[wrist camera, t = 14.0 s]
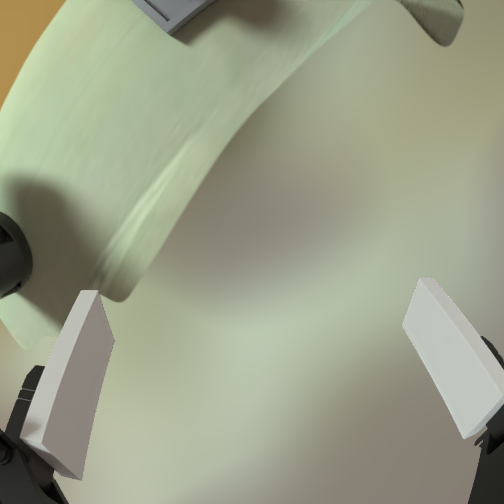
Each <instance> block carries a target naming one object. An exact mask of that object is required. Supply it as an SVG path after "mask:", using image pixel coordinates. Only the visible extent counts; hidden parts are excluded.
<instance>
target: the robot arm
mask: <svg viewBox="0 0 504 504" xmlns="http://www.w3.org/2000/svg"><path fill="white" fill-rule="evenodd" d="M31 272H32V257H31V252H30V249H29V246H28V243H27V241H26V239H25V237H24V235H23V233H22V232H21V230H20V229H19V228H18V226H17V225H16V224H15V223H14V222H13V221H12V220H11V219H10V218H9V217H8V216H6V215H5V214H3V213H1V212H0V299H2V298H4V297H7V296H9V295H11V294H13V293H15V292H17V291H18V290H20V289H21V288H22V287H23V286H24V284H25V283H26V282H27V281H28V280H29V278H30V275H31ZM402 327H403V329H404V330H405V332H406V334H407V335H408V337H409V339H410V340H411V342H412V344H413V345H414V347H415V349H416V351H417V352H418V354H419V356H420V358H421V359H422V361H423V363H424V365H425V366H426V368H427V370H428V372H429V374H430V375H431V377H432V379H433V381H434V382H435V384H436V386H437V388H438V390H439V392H440V394H441V396H442V398H443V399H444V401H445V403H446V405H447V407H448V409H449V411H450V413H451V415H452V417H453V419H454V421H455V423H456V425H457V427H458V429H459V431H460V433H461V435H462V437H463V439H466V438H468V437H470V436H472V435H474V434H476V433H478V432H479V431H480V429H482V428H483V427H484V425H485V424H486V426H487V428H488V429H487V430H486V431H485V432H484V433H483V434H482V435H481V436H480V437H479V438H478V439H477V440H476V442H475V444H474V445H475V446H476V445H477V444H479V443H480V442H481V441H482V440H483V442H482V443H481V444H480V446H479V447H481V448H482V449H481V454H480V458H479V463H478V468H477V472H476V476H475V480H474V483H473V487H472V491H471V494H470V498H469V501H468V504H504V362H503V358H502V357H501V356H500V355H499V354H498V351H497V350H496V349H495V348H494V346H493V345H492V343H490V342H489V341H488V340H487V339H486V338H484V337H483V336H481V337H480V336H479V335H478V333H477V332H476V331H475V329H474V328H473V327H472V325H471V324H470V323H469V322H468V320H467V319H466V317H464V315H463V314H462V312H461V311H460V310H459V309H458V307H457V306H456V305H455V304H454V302H453V301H452V300H451V299H450V297H449V296H448V295H447V294H446V293H445V292H444V290H443V289H442V288H441V287H440V286H439V284H438V283H437V282H436V281H435V280H434V279H433V277H425V278H419V280H418V283H417V286H416V288H415V291H414V294H413V297H412V300H411V303H410V305H409V308H408V310H407V313H406V316H405V318H404V321H403V323H402ZM114 341H115V340H114V338H113V335H112V332H111V329H110V326H109V323H108V320H107V317H106V314H105V311H104V308H103V304H102V301H101V298H100V295H99V291H98V290H81V292H80V294H79V296H78V297H77V299H76V301H75V303H74V305H73V307H72V309H71V311H70V313H69V315H68V317H67V320H66V322H65V324H64V326H63V328H62V330H61V332H60V334H59V337H58V339H57V341H56V343H55V345H54V348H53V350H52V352H51V354H50V357H49V359H48V362H47V364H46V366H38V365H36V366H35V367H34V368H33V369H32V370H31V371H30V372H29V374H27V376H26V378H25V381H24V383H23V385H22V390H20V393H19V395H18V400H16V403H15V405H14V408H13V411H12V413H11V416H10V419H9V422H8V424H7V427H6V430H5V433H4V432H3V431H2V430H1V429H0V504H69V503H68V501H67V500H66V498H65V496H64V494H63V493H62V491H61V489H60V487H59V486H58V484H57V482H56V480H55V479H54V478H53V473H54V470H55V471H57V472H58V473H59V474H60V475H61V476H64V477H68V478H72V479H77V480H82V476H83V471H84V465H85V459H86V454H87V449H88V444H89V439H90V434H91V430H92V425H93V421H94V416H95V412H96V408H97V404H98V400H99V396H100V392H101V388H102V384H103V380H104V376H105V373H106V369H107V366H108V362H109V358H110V355H111V351H112V348H113V345H114Z"/></svg>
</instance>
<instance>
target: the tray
mask: <svg viewBox="0 0 504 504" xmlns="http://www.w3.org/2000/svg"><path fill="white" fill-rule="evenodd" d="M131 1H132V2H133V3H134V4H136V5H137V6H138V7H139V8H140V9H141V10H142V11H143V12H145V13H146V14H147V15H148V16H149V17H150V18H151V19H152V20H153V21H154V22H156V23H157V24H158V25H159V26H160V27H161V28H162V29H163V30H164V31H165V32H166V33H167V34H169V35H170V36H172V35H173V34H175V33H176V32H177V31H178V30H179V29H180V28H182V27H183V26H184V25H185V24H186V23H188V22H189V21H190V20H191V19H193V18H194V17H195V16H196V15H198V14H199V13H200V12H201V11H203V10H204V9H205V8H207V7H208V6H209V5H211V4H212V3H213V2H215V1H216V0H131Z"/></svg>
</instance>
